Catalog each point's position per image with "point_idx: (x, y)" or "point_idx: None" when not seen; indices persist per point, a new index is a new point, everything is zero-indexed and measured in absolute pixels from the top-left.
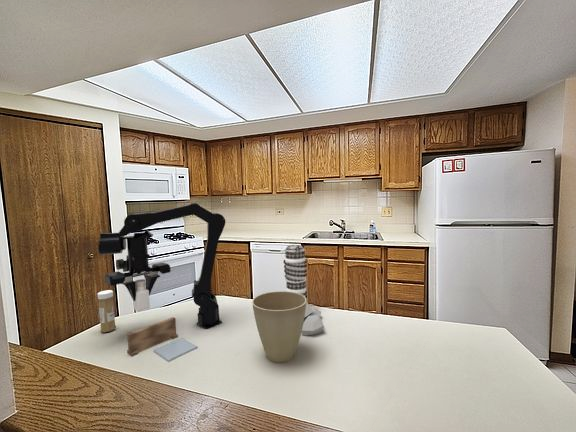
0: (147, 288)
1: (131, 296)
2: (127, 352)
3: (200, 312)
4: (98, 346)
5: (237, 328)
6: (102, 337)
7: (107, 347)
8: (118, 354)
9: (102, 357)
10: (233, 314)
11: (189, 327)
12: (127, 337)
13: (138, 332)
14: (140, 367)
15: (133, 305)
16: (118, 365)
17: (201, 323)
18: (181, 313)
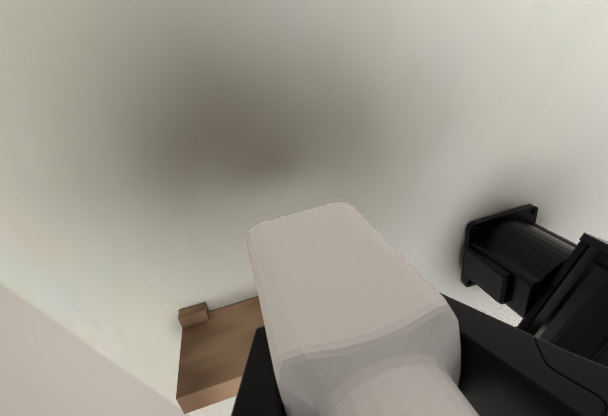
0: (469, 388)
1: (246, 379)
2: (179, 313)
3: (513, 287)
4: (25, 168)
5: (510, 322)
6: (24, 35)
7: (84, 212)
8: (143, 304)
9: (72, 296)
10: (586, 221)
11: (435, 232)
12: (178, 383)
13: (229, 394)
14: (212, 405)
15: (251, 260)
16: (145, 374)
17: (470, 276)
18: (509, 29)
